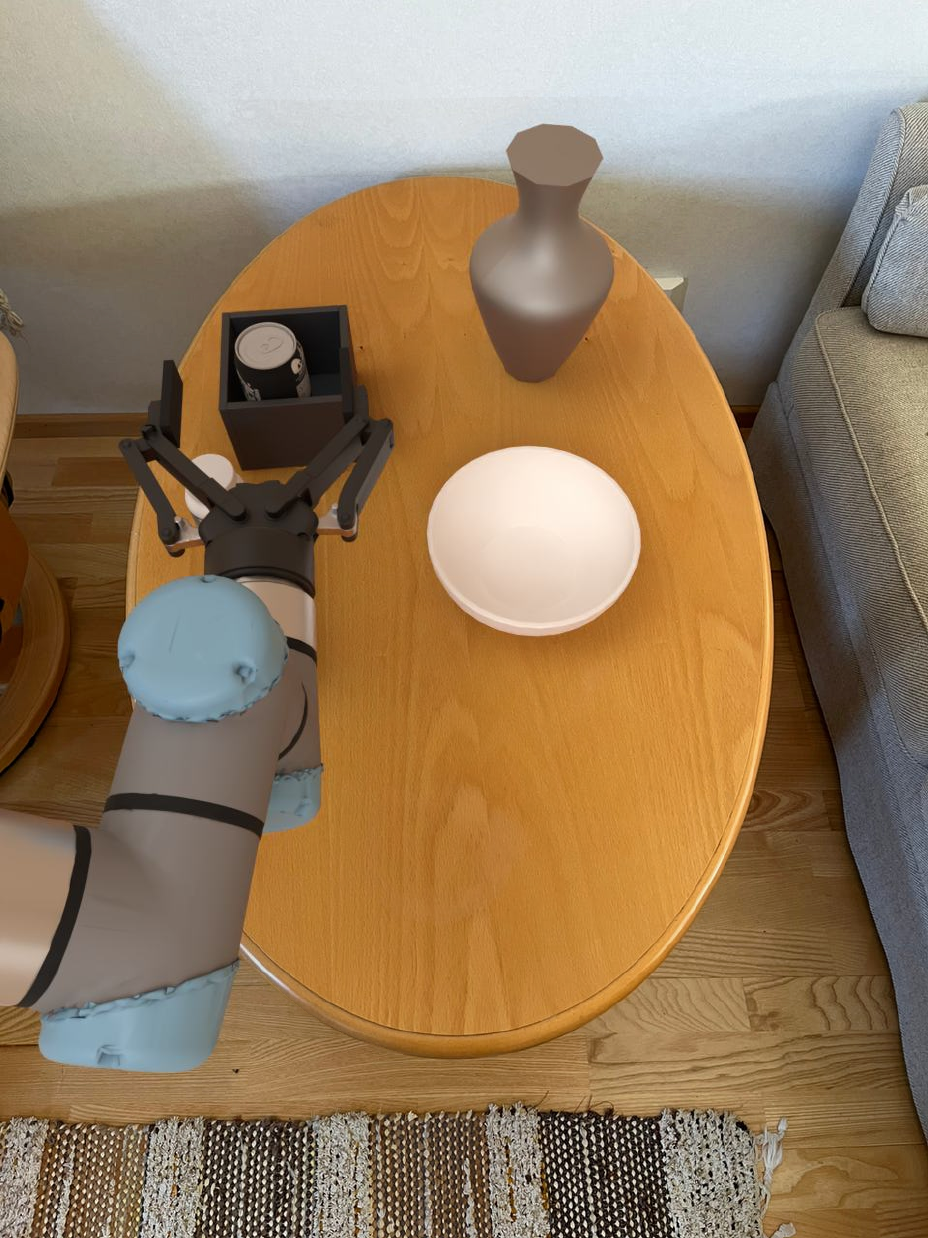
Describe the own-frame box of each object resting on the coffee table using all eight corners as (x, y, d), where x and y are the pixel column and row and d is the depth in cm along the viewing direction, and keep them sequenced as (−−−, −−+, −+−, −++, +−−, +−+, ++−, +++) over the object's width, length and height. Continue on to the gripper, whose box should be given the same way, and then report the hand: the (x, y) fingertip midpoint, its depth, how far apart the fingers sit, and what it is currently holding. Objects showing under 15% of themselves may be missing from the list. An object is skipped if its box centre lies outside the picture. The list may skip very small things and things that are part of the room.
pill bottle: (258, 558, 83) (235, 501, 74) (201, 558, 83) (170, 501, 74) (264, 509, 86) (242, 448, 77) (208, 509, 86) (179, 449, 77)
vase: (596, 319, 98) (639, 107, 75) (592, 416, 91) (636, 216, 69) (473, 308, 98) (479, 94, 76) (460, 404, 92) (463, 201, 70)
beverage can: (244, 426, 90) (216, 342, 79) (293, 393, 92) (271, 308, 81) (283, 462, 88) (258, 382, 77) (331, 428, 90) (314, 345, 79)
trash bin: (241, 470, 88) (218, 409, 79) (243, 378, 93) (221, 312, 85) (361, 461, 88) (351, 400, 80) (356, 370, 94) (346, 303, 85)
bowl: (652, 638, 80) (670, 604, 73) (451, 679, 78) (451, 647, 71) (594, 473, 88) (605, 429, 82) (412, 506, 86) (408, 463, 80)
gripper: (95, 640, 60) (117, 409, 69) (442, 609, 61) (418, 386, 71) (50, 591, 53) (81, 342, 63) (440, 557, 55) (414, 318, 64)
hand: (260, 365), depth 67 cm, fingers open, 13 cm apart
